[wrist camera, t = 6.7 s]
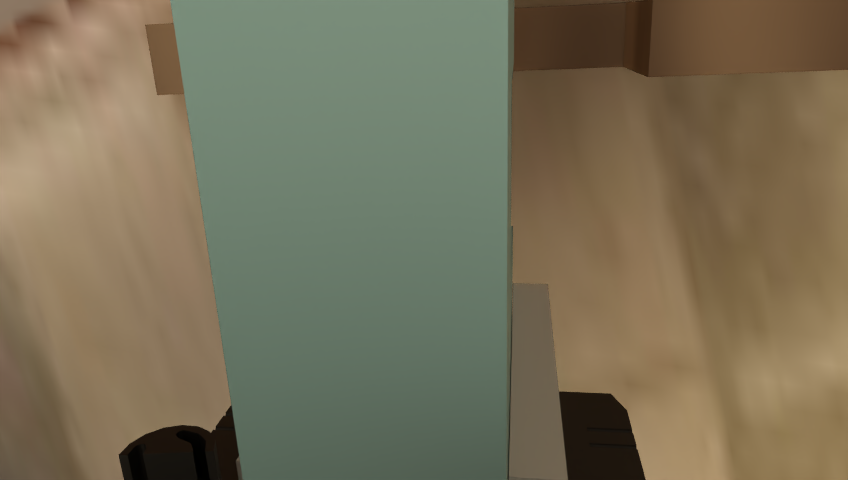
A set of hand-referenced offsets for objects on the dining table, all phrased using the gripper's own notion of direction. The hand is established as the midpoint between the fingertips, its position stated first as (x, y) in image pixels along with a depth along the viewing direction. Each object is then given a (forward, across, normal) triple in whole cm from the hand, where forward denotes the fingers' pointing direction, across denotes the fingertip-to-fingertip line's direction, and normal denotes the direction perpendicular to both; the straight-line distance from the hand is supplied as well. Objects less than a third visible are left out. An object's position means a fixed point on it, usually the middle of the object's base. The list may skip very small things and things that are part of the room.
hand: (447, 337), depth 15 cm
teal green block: (0, 0, +4) cm, 4 cm away
